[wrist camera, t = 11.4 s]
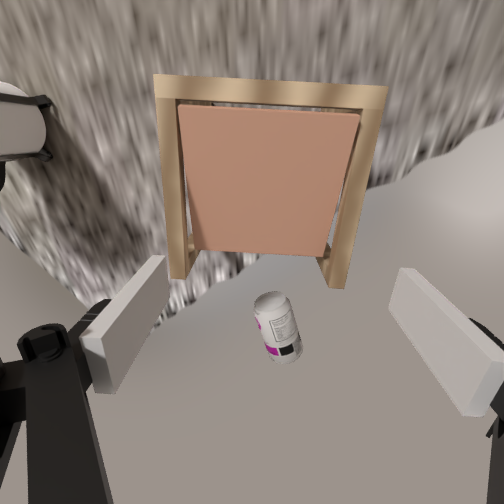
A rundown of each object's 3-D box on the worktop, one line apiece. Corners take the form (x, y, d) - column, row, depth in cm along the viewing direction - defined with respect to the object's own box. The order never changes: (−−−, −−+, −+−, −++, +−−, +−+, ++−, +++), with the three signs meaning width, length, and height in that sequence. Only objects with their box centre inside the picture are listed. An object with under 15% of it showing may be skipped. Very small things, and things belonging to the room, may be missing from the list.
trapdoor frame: (333, 106, 46) (388, 86, 26) (314, 232, 56) (344, 288, 36) (199, 99, 46) (153, 74, 26) (203, 225, 56) (170, 278, 36)
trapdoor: (353, 110, 28) (360, 116, 26) (320, 246, 40) (322, 256, 38) (183, 101, 28) (177, 106, 27) (198, 239, 40) (194, 249, 38)
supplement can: (266, 366, 62) (247, 314, 56) (273, 339, 69) (257, 291, 63) (301, 366, 59) (284, 312, 53) (305, 338, 66) (290, 288, 60)
